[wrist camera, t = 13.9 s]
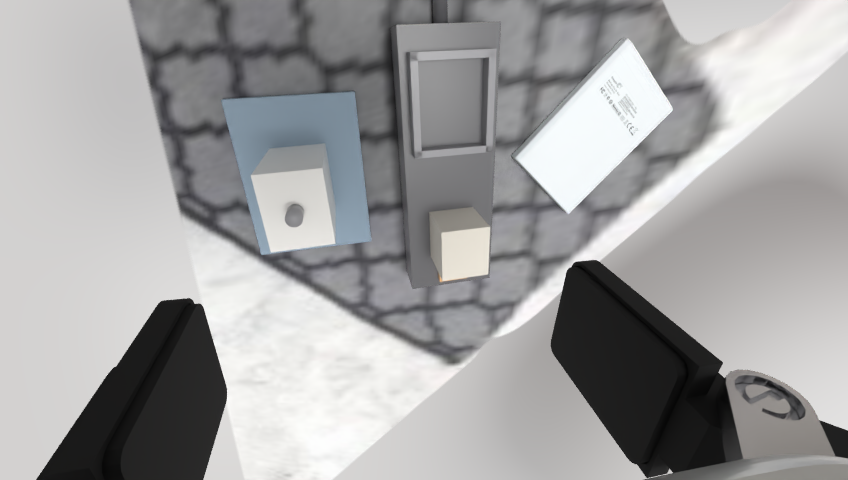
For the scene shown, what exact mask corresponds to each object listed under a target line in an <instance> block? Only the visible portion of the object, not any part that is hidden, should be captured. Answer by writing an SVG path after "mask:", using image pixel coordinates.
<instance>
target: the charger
mask: <svg viewBox="0 0 848 480" xmlns="http://www.w3.org/2000/svg"><path fill="white" fill-rule="evenodd" d="M251 179H252V183H253V186H254V190H255V194H256V198H257V202H258V206H259V209H260V213H261V217H262V221H263V225H264V228H265V232H266V236H267V240H268V244H269V247H270V251H271V253H272V252H279V251H287V250H294V249H301V248H309V247H316V246H323V245H331V244H336V205H335V199H334V193H333V187H332V181H331V175H330V169H329V163H328V157H327V151H326V145H325V143H323V144H313V145H302V146H291V147H281V148H270V149H269V150H268V151H267V153H266V154H265V156H264V157H263V158H262V160H261V161H260V163H259V164H258V166H257V167H256V169H255V170H254V171H253V173H252V174H251Z"/></svg>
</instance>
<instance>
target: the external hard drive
mask: <svg viewBox="0 0 848 480" xmlns="http://www.w3.org/2000/svg"><path fill="white" fill-rule="evenodd" d="M672 110H673V108H672V106H671V104H670V103H669V101H668V100H667V98H666V96H665V95H664V93H663V92H662V90H661V89H660V87H659V85H658V84H657V82H656V81H655V79H654V77H653V76H652V74H651V72H650V71H649V69H648V68H647V66H646V64H645V63H644V61H643V59H642V58H641V56H640V55H639V53H638V51H637V50H636V48H635V47H634V45H633V43H632V42H631V41H630V40H629V39H628V38H627V39H621V40H620V41H619V42H618V43H617V44H616V45H615V46H614V47H613V48H612V49H611V51H610V52H609V53H608V54H607V55H606V56H605V57H604V58H603V59H602V60H601V61H600V62H599V63H598V64H597V65H596V66H595V67H594V68H593V69H592V70H591V72H590V73H589V74H588V75H587V76H586V77H585V78H584V79H583V80H582V81H581V82H580V83H579V84H578V85H577V86H576V87H575V88H574V89H573V91H572V92H571V93H570V94H569V95H568V96H567V97H566V98H565V99H564V100H563V101H562V102H561V103H560V104H559V105H558V107H557V108H556V109H555V110H554V111H553V112H552V113H551V114H550V115H549V116H548V117H547V118H546V119H545V120H544V121H543V122H542V124H541V125H540V126H539V127H538V128H537V129H536V130H535V131H534V132H533V133H532V134H531V135H530V136H529V137H528V138H527V140H526V141H525V142H524V143H523V144H522V145H521V146H520V147H519V148H518V149H517V150H516V151H515V152H514V153H513V154H512V155H511V157H512V158H513V159H514V160H515V161H516V162H517V163H518V164H519V165H520V166H521V167H522V168H523V169H524V170H525V171H526V172H527V173H528V175H529V176H530V177H531V178H532V179H533V180H534V181H535V182H536V183H537V184H538V185H539V186H540V187H541V188H542V189H543V190H544V191H545V192H546V193H547V194H548V196H549V197H550V198H551V199H552V200H553V201H554V202H555V203H556V204H557V205H558V206H559V207H560V208H561V209H562V210H563V211H564V212H566V213H567V214H569V213H570V212H571V211H572V210H573V209H574V208H575V207H576V206H577V205H578V204H579V203H580V202H581V201H582V200H583V199H584V198H585V197H586V196H587V195H588V194H589V193H590V192H591V191H592V190H593V189H594V188H595V187H596V186H597V185H598V184H599V183H600V182H601V181H602V180H603V179H604V178H605V177H606V176H607V175H608V174H609V173H610V172H611V171H612V170H613V169H614V168H615V167H616V166H617V165H618V164H619V163H620V162H621V161H622V160H623V159H624V158H625V157H626V156H627V155H628V154H629V153H630V152H631V151H632V150H633V149H634V148H635V147H636V146H637V145H638V144H639V143H640V142H641V141H642V140H643V139H644V138H645V137H646V136H647V135H648V134H649V133H650V132H651V131H652V130H653V129H654V128H655V127H656V126H657V125H658V124H659V123H660V122H661V121H662V120H664V119H665V118H666V117H667V116H668V115H669V113H671V112H672Z"/></svg>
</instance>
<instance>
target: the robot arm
mask: <svg viewBox="0 0 848 480" xmlns="http://www.w3.org/2000/svg"><path fill="white" fill-rule="evenodd" d="M551 349H552V352H553V354H554V356H555V357H556V359H557V360H558V361H559V363H560V364H561V365H562V367H563V368H564V370H565V371H566V373H567V374H568V375H569V377H570V378H571V380H572V381H573V382H574V384H575V385H576V387H577V388H578V389H579V391H580V392H581V394H582V395H583V396H584V398H585V399H586V401H587V402H588V403H589V405H590V406H591V407H592V409H593V410H594V412H595V413H596V415H597V416H598V417H599V419H600V420H601V422H602V423H603V424H604V426H605V427H606V429H607V430H608V431H609V433H610V434H611V436H612V437H613V438H614V440H615V441H616V443H617V444H618V445H619V447H620V448H621V450H622V451H623V452H624V454H625V455H626V457H627V458H628V459H629V460H630V461H631V462H632V463H634V464H637V465H638V466H639V468H640V469H641V470H642V472H643V473H644V474H645V476H646V477H647V478H649V477H654V476H658V475H662V474H666V473H667V472H668V470H669V468H670V469H671V471H672V472H673V473H672V474H668V475H663V476H658V477H654V478H649V479H645V480H848V431H847V430H845V429H842V428H839V427H836V426H833V425H831V424H828V423H825V422H823V421H820V420H819V419H818V417H817V415H816V413H815V411H814V409H813V408H812V406H811V405H810V403H809V402H808V401H807V400H806V399H805V398H804V397H803V396H802V395H801V394H800V393H798V392H797V391H796V390H794V389H793V388H791V387H790V386H788V385H787V384H785V383H783V382H781V381H779V380H777V379H775V378H773V377H770V376H768V375H765V374H763V373H759V372H755V371H750V370H735V371H731V372H730V373H729V374H728V375H727V376H726V377H725V378H724V377H723V376H722V375H720V374H719V373H718V372H719V369H720V368H721V366H722V364H723V362H722V361H720V360H719V359H718V358H717V357H715V356H714V355H713V354H712V353H711V352H709V351H708V350H707V349H706V348H704V347H703V346H702V345H701V344H700V343H698V342H697V341H696V340H695V339H693V338H692V337H691V336H689V335H688V334H687V333H686V332H685V331H684V330H682V329H681V328H680V327H679V326H677V325H676V324H675V323H674V322H673V321H671V320H670V319H669V318H668V317H666V316H665V315H664V314H663V313H661V312H660V311H659V310H658V309H656V308H655V307H654V306H653V305H652V304H650V303H649V302H648V301H647V300H645V299H644V298H643V297H642V296H641V295H639V294H638V293H637V292H636V291H634V290H633V289H632V288H631V287H630V286H628V285H627V284H626V283H624V282H623V281H622V280H621V279H620V278H618V277H617V276H616V275H615V274H614V273H612V272H611V271H610V270H609V269H607V268H606V267H605V266H604V265H603V264H601V263H600V262H599V261H597V260H590V261H580V262H575V263H574V264H573V265H572V267H571V268H569V269H568V270H567V273H566V277H565V282H564V286H563V291H562V295H561V299H560V304H559V308H558V313H557V317H556V321H555V326H554V330H553V335H552V339H551ZM226 400H227V388H226V384H225V380H224V377H223V373H222V370H221V367H220V363H219V360H218V356H217V353H216V349H215V346H214V343H213V339H212V336H211V332H210V329H209V325H208V322H207V319H206V315H205V312H204V309H203V306H202V305H201V304H194V302H193V300H192V299H190V298H187V299H177V300H166V301H161V302H160V303H159V304H158V305H157V307H156V308H155V310H154V311H153V313H152V314H151V316H150V317H149V319H148V320H147V322H146V323H145V325H144V326H143V327H142V329H141V331H140V332H139V333H138V335H137V336H136V338H135V340H134V341H133V342H132V344H131V345H130V347H129V348H128V350H127V352H126V353H125V354H124V356H123V357H122V359H121V360H120V362H119V363H118V365H117V366H116V367H114V368H113V369H112V370H111V371H110V373H109V374H108V375H107V376H106V378H105V379H104V381H103V382H102V384H101V385H100V387H99V388H98V390H97V391H96V393H95V394H94V395H93V397H92V398H91V400H90V401H89V403H88V404H87V406H86V407H85V409H84V410H83V412H82V413H81V415H80V416H79V418H78V419H77V420H76V422H75V424H74V425H73V426H72V428H71V429H70V431H69V432H68V434H67V435H66V437H65V438H64V440H63V441H62V443H61V444H60V445H59V447H58V449H57V450H56V451H55V453H54V454H53V456H52V458H51V459H50V460H49V462H48V463H47V465H46V466H45V468H44V469H43V471H42V472H41V473H40V475H39V476H38V478H37V479H36V480H203V478H204V475H205V472H206V468H207V465H208V462H209V458H210V455H211V451H212V448H213V445H214V441H215V438H216V435H217V431H218V428H219V425H220V421H221V418H222V414H223V411H224V408H225V404H226Z"/></svg>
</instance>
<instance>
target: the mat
mask: <svg viewBox="0 0 848 480" xmlns="http://www.w3.org/2000/svg"><path fill="white" fill-rule="evenodd" d="M221 102H222V106H223V110H224V113H225V117H226V121H227V125H228V129H229V133H230V136H231V140H232V144H233V148H234V152H235V156H236V159H237V163H238V167H239V171H240V175H241V179H242V182H243V186H244V190H245V194H246V198H247V202H248V205H249V209H250V213H251V217H252V221H253V225H254V228H255V232H256V236H257V240H258V244H259V248H260V251H261V255H265V254H273V253H281V252H289V251H297V250H305V249H313V248H321V247H329V246H337V245H345V244H353V243H361V242H369V241H371V233H370V224H369V216H368V207H367V198H366V189H365V180H364V171H363V162H362V153H361V144H360V135H359V126H358V117H357V109H356V100H355V92H354V91H346V92H329V93H312V94H295V95H279V96H262V97H245V98H228V99H222V100H221ZM323 143H325V145H326V151H327V157H328V163H329V169H330V175H331V181H332V187H333V193H334V199H335V205H336V244H331V245H323V246H316V247H309V248H301V249H294V250H287V251H279V252H272V253H271V251H270V247H269V244H268V240H267V236H266V232H265V228H264V225H263V221H262V217H261V213H260V209H259V206H258V202H257V198H256V194H255V190H254V186H253V183H252V179H251V174H252V173H253V171H254V170H255V169H256V167H257V166H258V164H259V163H260V161H261V160H262V158H263V157H264V156H265V154H266V153H267V151H268V150H269V149H270V148H281V147H291V146H302V145H313V144H323Z"/></svg>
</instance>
